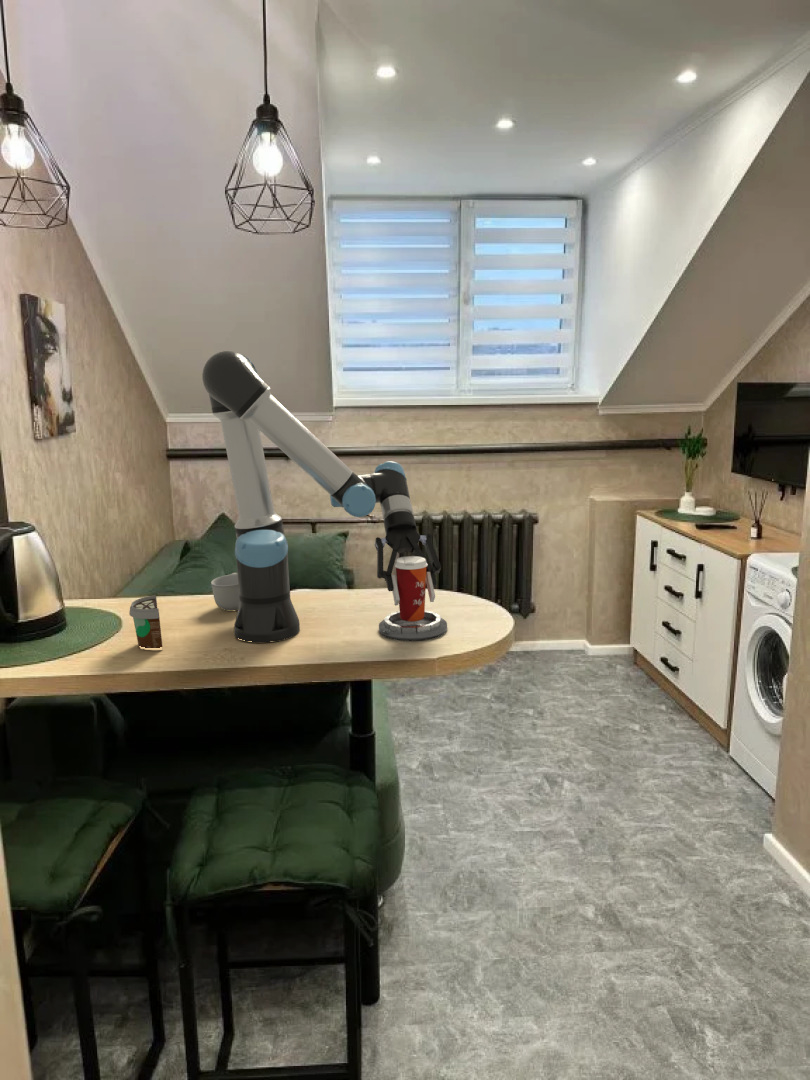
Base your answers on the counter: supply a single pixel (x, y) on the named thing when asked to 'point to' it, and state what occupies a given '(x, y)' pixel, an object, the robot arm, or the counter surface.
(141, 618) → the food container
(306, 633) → the counter surface
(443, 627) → the rosette plate
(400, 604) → the paper cup
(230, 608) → the teacup
